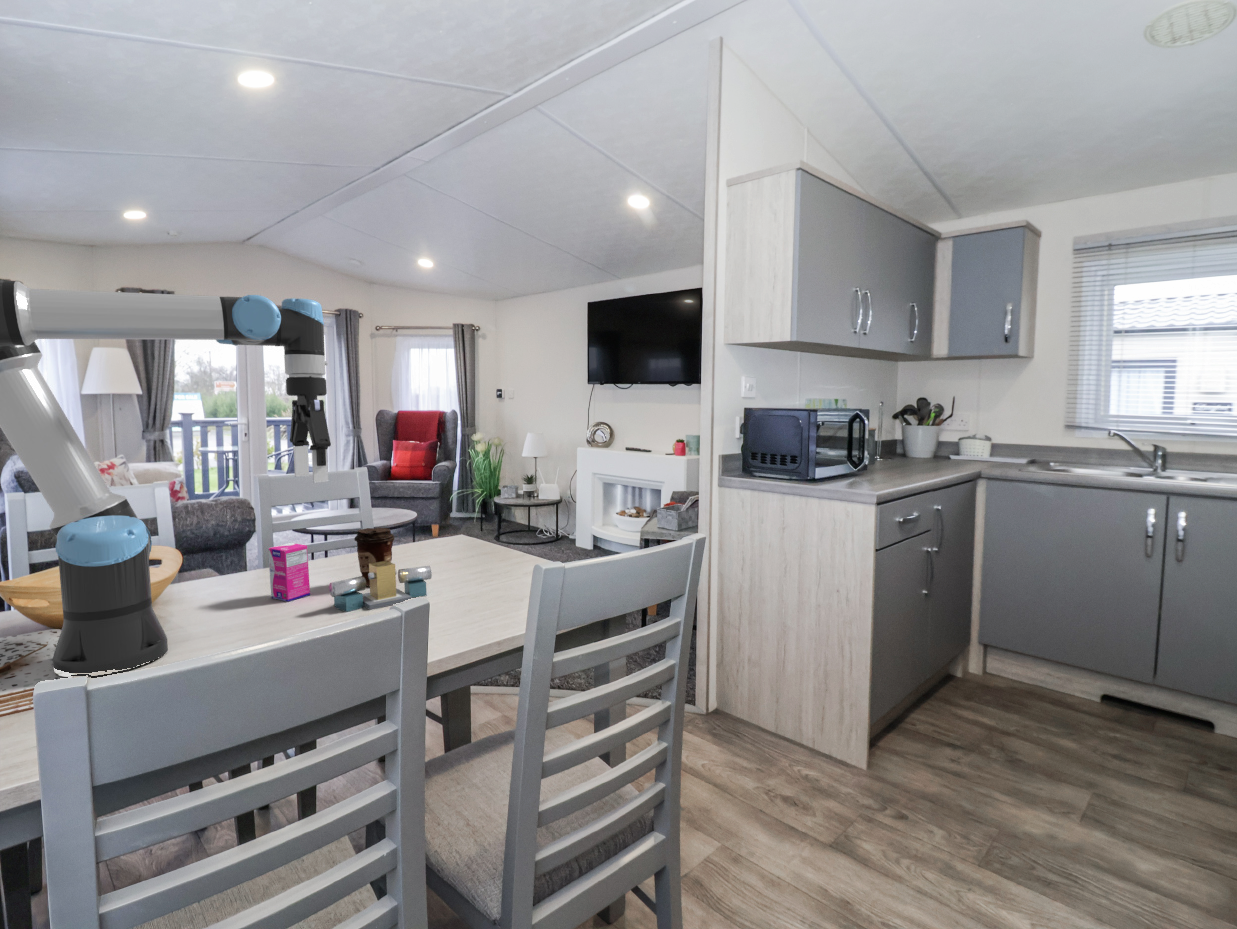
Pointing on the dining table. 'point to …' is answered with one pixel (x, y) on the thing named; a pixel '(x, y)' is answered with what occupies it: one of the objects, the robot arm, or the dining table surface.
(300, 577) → the supplement box
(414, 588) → the shaft
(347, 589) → the shaft
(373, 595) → the block
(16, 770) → the dining table surface
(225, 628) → the dining table surface
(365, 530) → the coffee cup
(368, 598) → the cradle
